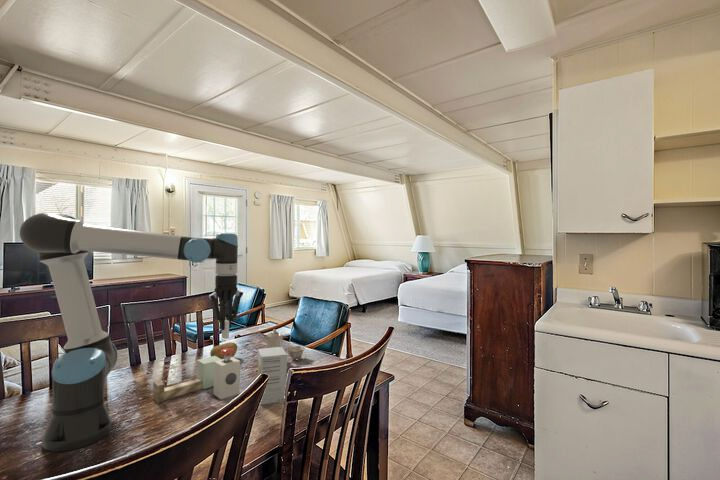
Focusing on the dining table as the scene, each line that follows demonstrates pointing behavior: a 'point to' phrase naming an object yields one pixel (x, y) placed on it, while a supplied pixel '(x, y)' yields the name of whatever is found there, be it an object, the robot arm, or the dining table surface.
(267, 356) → the supplement box
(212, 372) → the block
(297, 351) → the chinaware
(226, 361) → the button
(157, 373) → the dining table surface
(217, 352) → the potato
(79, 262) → the robot arm
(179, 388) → the rail
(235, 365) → the white tall block
